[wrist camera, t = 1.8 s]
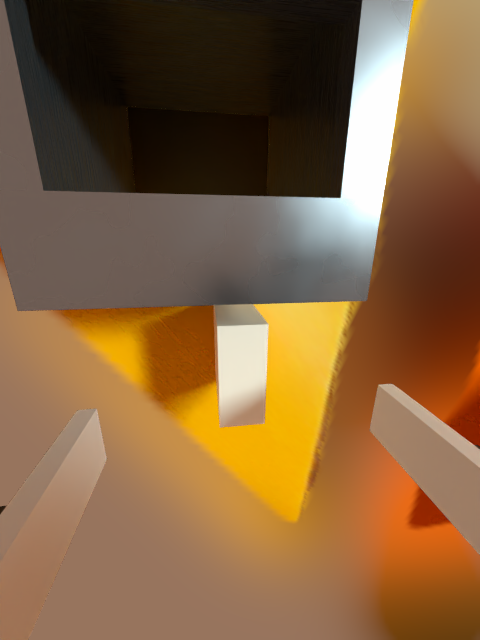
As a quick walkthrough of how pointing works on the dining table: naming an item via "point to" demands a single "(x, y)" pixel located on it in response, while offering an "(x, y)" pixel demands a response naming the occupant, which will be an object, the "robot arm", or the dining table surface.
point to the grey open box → (202, 96)
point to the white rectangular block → (240, 364)
